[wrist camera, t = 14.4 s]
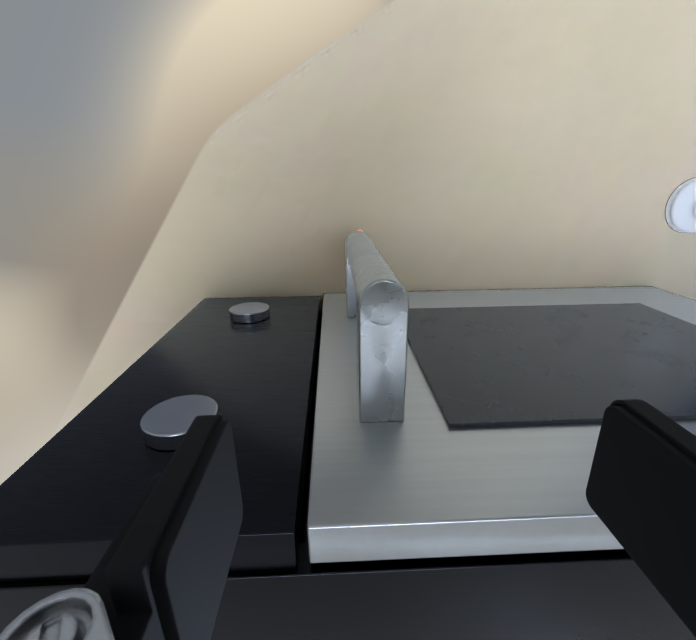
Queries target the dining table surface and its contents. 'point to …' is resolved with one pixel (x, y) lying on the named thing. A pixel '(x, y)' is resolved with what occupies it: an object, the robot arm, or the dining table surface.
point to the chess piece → (683, 208)
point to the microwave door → (478, 411)
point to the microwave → (284, 507)
